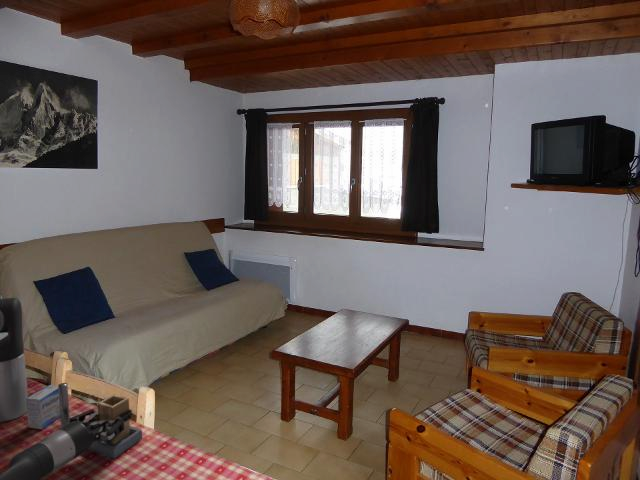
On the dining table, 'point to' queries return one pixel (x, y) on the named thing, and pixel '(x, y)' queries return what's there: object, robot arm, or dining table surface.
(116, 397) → the sleeve
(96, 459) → the dining table surface
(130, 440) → the tray
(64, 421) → the post
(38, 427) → the medicine box
